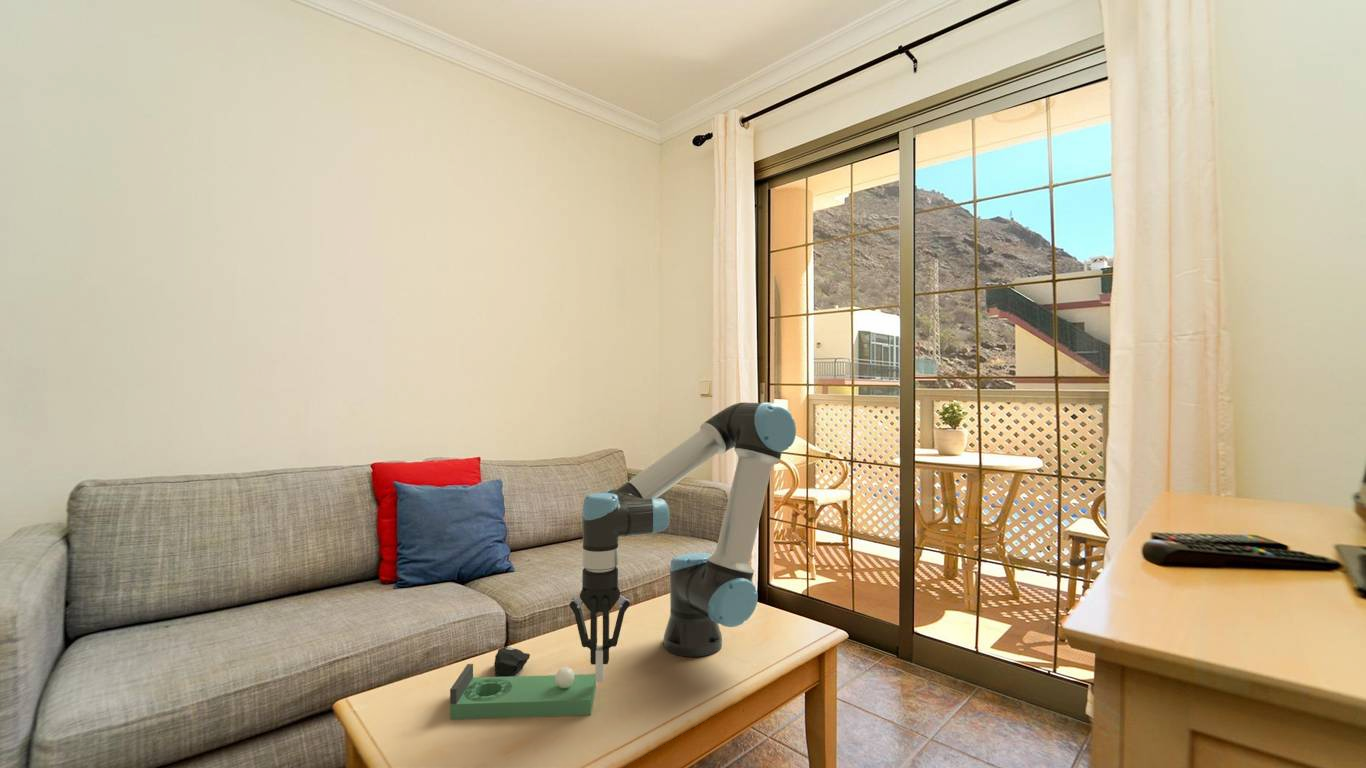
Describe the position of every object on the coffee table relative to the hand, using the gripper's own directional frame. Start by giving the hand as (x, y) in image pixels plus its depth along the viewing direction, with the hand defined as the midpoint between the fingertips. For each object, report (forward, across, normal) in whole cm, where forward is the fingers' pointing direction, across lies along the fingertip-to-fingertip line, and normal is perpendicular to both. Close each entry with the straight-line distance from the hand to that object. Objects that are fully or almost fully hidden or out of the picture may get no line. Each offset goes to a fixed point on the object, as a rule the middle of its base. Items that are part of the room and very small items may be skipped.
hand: (599, 678), depth 124 cm
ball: (0, +7, 0) cm, 7 cm away
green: (+5, +15, 0) cm, 16 cm away
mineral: (+5, +22, -14) cm, 26 cm away
